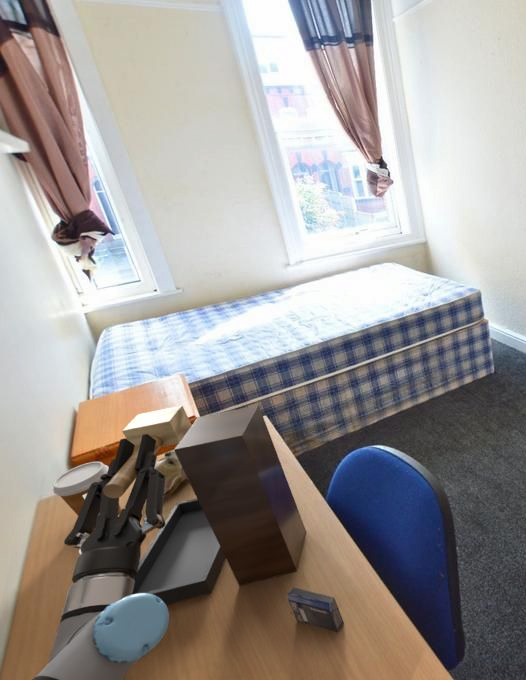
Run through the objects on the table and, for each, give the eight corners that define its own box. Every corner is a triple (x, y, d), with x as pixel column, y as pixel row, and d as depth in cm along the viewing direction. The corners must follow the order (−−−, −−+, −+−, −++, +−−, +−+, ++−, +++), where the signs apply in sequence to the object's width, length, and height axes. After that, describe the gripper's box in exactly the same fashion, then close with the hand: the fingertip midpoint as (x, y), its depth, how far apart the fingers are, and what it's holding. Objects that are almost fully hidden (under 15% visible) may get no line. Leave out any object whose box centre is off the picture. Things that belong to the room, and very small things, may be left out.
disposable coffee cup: (67, 527, 104) (40, 484, 99) (114, 498, 112) (90, 457, 107) (92, 536, 100) (65, 492, 96) (138, 505, 108) (115, 463, 104)
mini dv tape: (296, 621, 76) (285, 595, 74) (303, 612, 78) (292, 587, 75) (338, 632, 74) (328, 606, 72) (344, 623, 75) (334, 597, 73)
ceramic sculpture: (207, 438, 115) (143, 480, 104) (221, 465, 119) (162, 509, 107) (182, 432, 120) (119, 471, 108) (196, 458, 124) (137, 498, 112)
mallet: (144, 491, 76) (130, 467, 74) (89, 504, 75) (74, 479, 73) (192, 426, 94) (182, 405, 92) (149, 435, 93) (138, 414, 91)
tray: (211, 592, 84) (205, 580, 82) (121, 616, 81) (113, 603, 80) (251, 497, 107) (246, 486, 106) (182, 513, 104) (176, 502, 103)
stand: (297, 571, 86) (242, 435, 74) (239, 586, 84) (173, 449, 72) (306, 531, 95) (258, 404, 83) (254, 544, 93) (198, 417, 82)
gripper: (63, 600, 71) (103, 459, 85) (176, 571, 74) (197, 439, 88) (22, 591, 65) (73, 440, 79) (147, 560, 68) (175, 420, 82)
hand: (138, 440), depth 83 cm, fingers closed on mallet, 3 cm apart
